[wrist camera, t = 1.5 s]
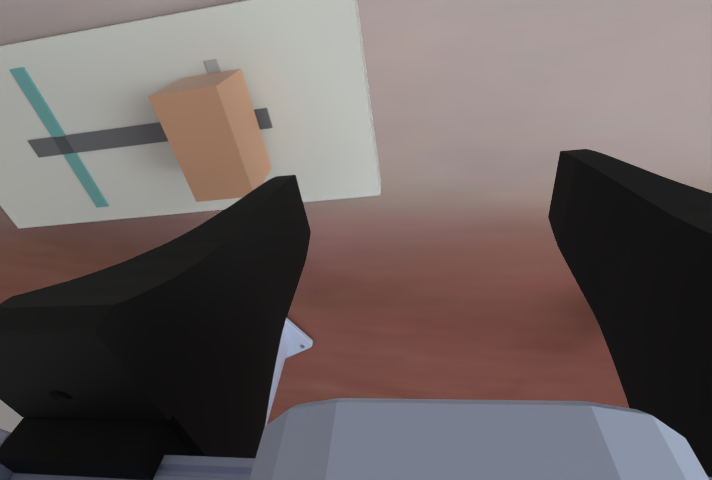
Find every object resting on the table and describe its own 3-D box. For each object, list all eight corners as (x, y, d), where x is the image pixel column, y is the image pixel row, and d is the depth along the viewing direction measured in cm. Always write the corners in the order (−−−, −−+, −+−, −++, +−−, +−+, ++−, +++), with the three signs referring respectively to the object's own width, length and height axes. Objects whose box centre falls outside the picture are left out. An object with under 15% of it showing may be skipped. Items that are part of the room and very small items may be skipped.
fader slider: (241, 68, 18) (215, 86, 15) (271, 168, 20) (254, 196, 18) (181, 77, 18) (148, 96, 16) (219, 174, 21) (196, 201, 18)
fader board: (354, -21, 17) (351, -19, 16) (381, 182, 23) (380, 196, 21) (-82, 60, 21) (-114, 67, 19) (35, 216, 26) (17, 229, 25)
